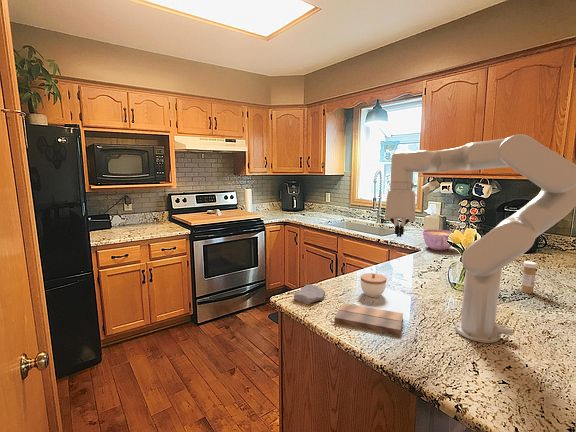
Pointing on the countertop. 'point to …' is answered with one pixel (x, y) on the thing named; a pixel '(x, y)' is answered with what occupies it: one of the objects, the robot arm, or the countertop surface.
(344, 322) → the walnut board
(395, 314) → the chestnut plank
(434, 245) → the bowl of food
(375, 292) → the lidded jar
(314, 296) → the stone block
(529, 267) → the sprinkles bottle
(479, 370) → the countertop surface
